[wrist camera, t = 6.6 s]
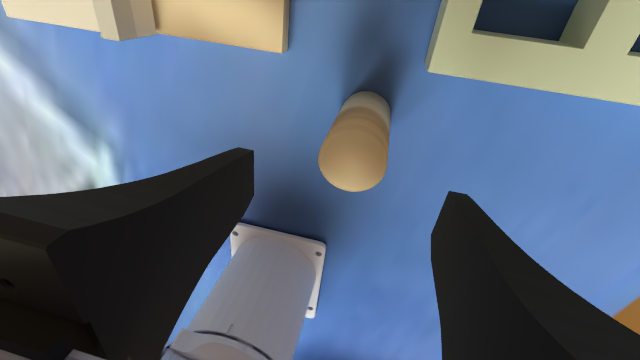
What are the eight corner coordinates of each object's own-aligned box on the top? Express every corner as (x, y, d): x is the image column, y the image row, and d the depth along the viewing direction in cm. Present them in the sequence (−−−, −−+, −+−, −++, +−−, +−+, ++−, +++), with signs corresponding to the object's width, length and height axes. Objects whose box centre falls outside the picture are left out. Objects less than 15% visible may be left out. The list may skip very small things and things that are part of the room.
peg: (384, 143, 19) (379, 197, 14) (337, 134, 19) (315, 184, 14) (396, 95, 17) (394, 137, 12) (344, 87, 18) (322, 124, 13)
